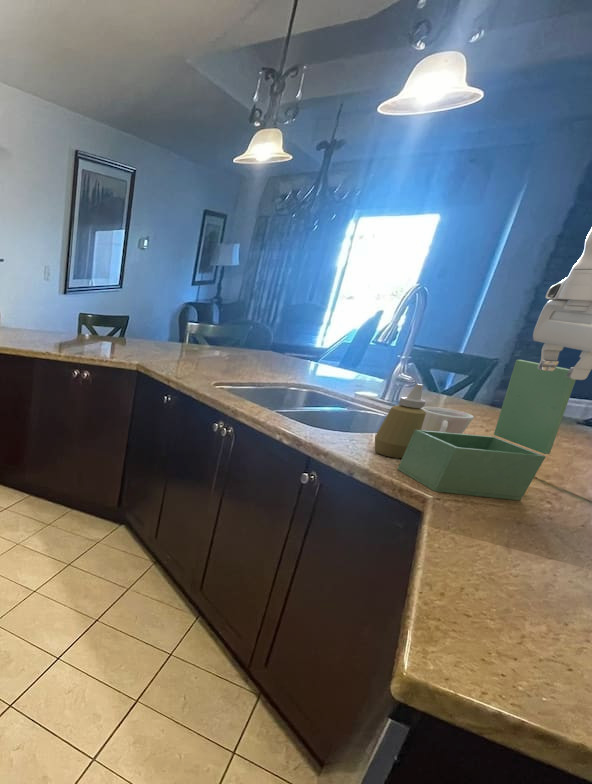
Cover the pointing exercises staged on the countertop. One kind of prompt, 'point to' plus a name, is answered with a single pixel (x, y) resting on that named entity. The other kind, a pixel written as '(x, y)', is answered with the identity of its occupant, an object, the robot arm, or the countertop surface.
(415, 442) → the tea tin
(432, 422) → the mug
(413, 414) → the squeeze bottle
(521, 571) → the countertop surface
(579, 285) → the robot arm
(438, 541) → the countertop surface
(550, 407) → the tin lid
